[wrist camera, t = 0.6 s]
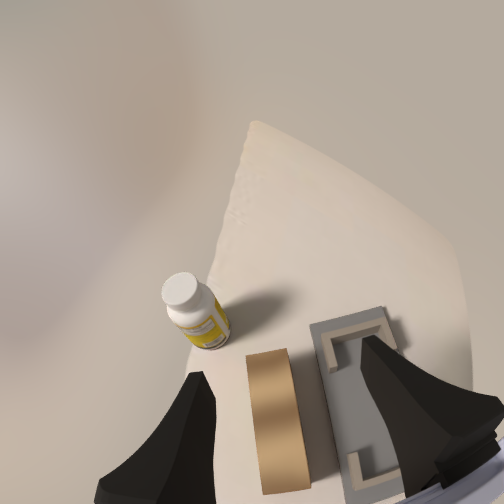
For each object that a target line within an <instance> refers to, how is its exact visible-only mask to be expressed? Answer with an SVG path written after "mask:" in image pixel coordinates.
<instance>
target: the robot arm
mask: <svg viewBox="0 0 504 504" xmlns="http://www.w3.org/2000/svg"><path fill="white" fill-rule="evenodd" d="M360 370H361V372H362V375H363V378H364V381H365V383H366V386H367V388H368V390H369V392H370V394H371V396H372V398H373V400H374V402H375V404H376V406H377V408H378V410H379V412H380V414H381V416H382V418H383V420H384V422H385V424H386V426H387V429H388V431H389V434H390V437H391V440H392V443H393V446H394V450H395V453H396V456H397V460H398V464H399V468H400V471H401V476H402V481H403V485H404V491H405V496H406V499H404V500H402V501H399V502H397V503H395V504H490V503H492V502H493V501H494V500H495V499H497V498H498V497H499V496H500V495H501V494H503V493H504V437H503V438H502V439H500V440H499V441H498V442H497V441H496V440H495V438H496V437H497V434H496V432H495V431H494V430H495V429H496V428H497V426H498V425H499V424H500V423H501V421H502V420H503V418H504V405H503V404H502V403H501V401H500V400H499V399H498V397H496V396H490V395H484V394H479V393H476V392H472V391H468V390H465V389H462V388H459V387H457V386H454V385H451V384H449V383H447V382H444V381H442V380H440V379H438V378H436V377H434V376H432V375H430V374H428V373H427V372H425V371H423V370H422V369H420V368H419V367H417V366H415V365H414V364H413V363H411V362H410V361H408V360H407V359H405V358H404V357H403V356H401V355H400V354H399V353H397V352H396V351H395V350H393V349H392V348H391V347H389V346H388V345H387V344H386V343H384V342H383V341H382V340H381V339H380V338H378V337H377V336H376V335H371V336H368V337H364V338H362V347H361V363H360ZM215 431H216V398H215V396H214V394H213V392H212V390H211V388H210V386H209V384H208V382H207V379H206V377H205V375H204V373H203V371H200V372H191V373H189V374H188V376H187V378H186V380H185V382H184V384H183V386H182V388H181V390H180V391H179V393H178V395H177V397H176V399H175V400H174V402H173V404H172V406H171V407H170V409H169V410H168V412H167V413H166V415H165V416H164V418H163V419H162V421H161V422H160V424H159V425H158V427H157V428H156V429H155V431H154V432H153V433H152V434H151V436H150V437H149V438H148V439H147V440H146V441H145V443H144V444H143V445H142V446H141V447H140V448H139V449H138V450H137V451H136V452H135V453H134V454H133V455H132V456H131V457H129V459H127V460H126V461H125V462H124V463H122V464H121V465H120V466H119V467H117V468H116V469H115V470H113V471H112V472H110V473H109V474H107V475H106V476H104V477H103V478H101V479H100V480H99V483H98V486H97V490H96V494H95V499H94V503H95V504H216V497H215V486H214V471H213V455H214V443H215Z"/></svg>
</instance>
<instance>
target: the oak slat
mask: <svg viewBox="0 0 504 504" xmlns="http://www.w3.org/2000/svg"><path fill="white" fill-rule="evenodd" d="M246 363H247V372H248V381H249V390H250V398H251V406H252V415H253V423H254V431H255V439H256V447H257V454H258V462H259V470H260V477H261V484H262V492H263V495H269V494H278V493H285V492H292V491H299V490H305V489H310V488H311V478H310V472H309V466H308V460H307V454H306V448H305V443H304V437H303V431H302V425H301V420H300V414H299V409H298V403H297V398H296V392H295V387H294V381H293V376H292V370H291V365H290V361H289V357H288V353H287V349H286V348H284V349H279V350H274V351H269V352H264V353H258V354H253V355H247V356H246Z"/></svg>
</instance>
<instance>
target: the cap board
mask: <svg viewBox="0 0 504 504" xmlns="http://www.w3.org/2000/svg"><path fill="white" fill-rule="evenodd" d="M310 331H311V335H312V339H313V343H314V347H315V352H316V356H317V360H318V365H319V369H320V373H321V378H322V382H323V387H324V391H325V396H326V401H327V405H328V410H329V415H330V420H331V425H332V430H333V435H334V440H335V445H336V450H337V455H338V461H339V466H340V472H341V477H342V483H343V489H344V495H345V501H346V504H372V503H375V502H378V501H381V500H384V499H387V498H390V497H392V496H395V495H398V494H400V493H403V492H405V491H404V485H403V481H402V476H401V471H400V468H399V464H398V460H397V456H396V453H395V450H394V446H393V443H392V440H391V437H390V434H389V431H388V429H387V426H386V424H385V422H384V420H383V418H382V416H381V414H380V412H379V410H378V408H377V406H376V404H375V402H374V400H373V398H372V396H371V394H370V392H369V390H368V388H367V386H366V383H365V381H364V378H363V375H362V372H361V370H360V363H361V347H362V338H364V337H368V336H371V335H376V336H377V337H378V338H380V339H381V340H382V341H383V342H384V343H386V344H387V345H388V346H389V347H391V348H392V349H393V350H395V351H396V352H397V353H399V350H398V348H397V345H396V342H395V339H394V337H393V334H392V331H391V329H390V326H389V324H388V321H387V318H386V316H385V313H384V311H383V308H382V306H379V307H376V308H372V309H369V310H365V311H361V312H358V313H354V314H350V315H346V316H343V317H339V318H335V319H331V320H327V321H322V322H318V323H314V324H310ZM399 354H400V353H399Z"/></svg>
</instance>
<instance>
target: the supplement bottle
mask: <svg viewBox="0 0 504 504" xmlns="http://www.w3.org/2000/svg"><path fill="white" fill-rule="evenodd" d="M162 298H163V300H164V301H165V303H166V304H167V312H168V315H169V317H170V318H171V320H172V321H173V322H174V323H175V324H176V326H177V327H178V328H179V329H180V330H181V331H182V332H183V333H184V334H185V335H186V337H187V338H188V339H189V340H190V341H191V342H192V343H193V344H194V345H195V346H196V347H198V348H200V349H203V350H213V349H216V348H218V347H220V346H222V345H223V344H224V343H225V342H226V341H227V339H228V337H229V335H230V331H231V326H230V322H229V320H228V318H227V316H226V315H225V313H224V311H223V310H222V308H221V306H220V304H219V303H218V301H217V299H216V297H215V296H214V294H213V292H212V291H211V289H210V288H209V287H208V286H206V285H205V284H202V283H199V282H198V280H197V278H196V277H195V276H194V275H193V274H191V273H188V272H181V273H177V274H175V275H173V276H171V277H170V278H169V279H168V280H167V281H166V282H165V284H164V285H163V288H162Z"/></svg>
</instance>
